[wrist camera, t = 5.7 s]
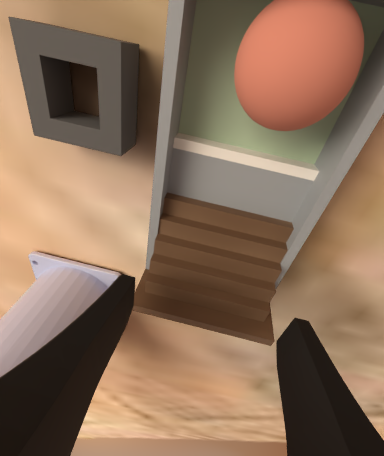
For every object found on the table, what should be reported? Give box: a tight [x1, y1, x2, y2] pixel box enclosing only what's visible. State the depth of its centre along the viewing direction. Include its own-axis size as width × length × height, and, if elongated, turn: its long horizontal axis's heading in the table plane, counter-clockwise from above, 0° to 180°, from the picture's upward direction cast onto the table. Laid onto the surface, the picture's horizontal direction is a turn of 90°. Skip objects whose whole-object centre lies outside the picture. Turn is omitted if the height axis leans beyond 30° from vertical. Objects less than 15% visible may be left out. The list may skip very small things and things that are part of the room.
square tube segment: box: [9, 17, 139, 156], centre depth 11 cm, size 4×4×2 cm
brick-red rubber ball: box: [234, 0, 364, 131], centre depth 8 cm, size 4×4×4 cm
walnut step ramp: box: [132, 192, 294, 346], centre depth 14 cm, size 6×8×5 cm
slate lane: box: [146, 0, 384, 289], centre depth 11 cm, size 14×8×4 cm, turn 170°
